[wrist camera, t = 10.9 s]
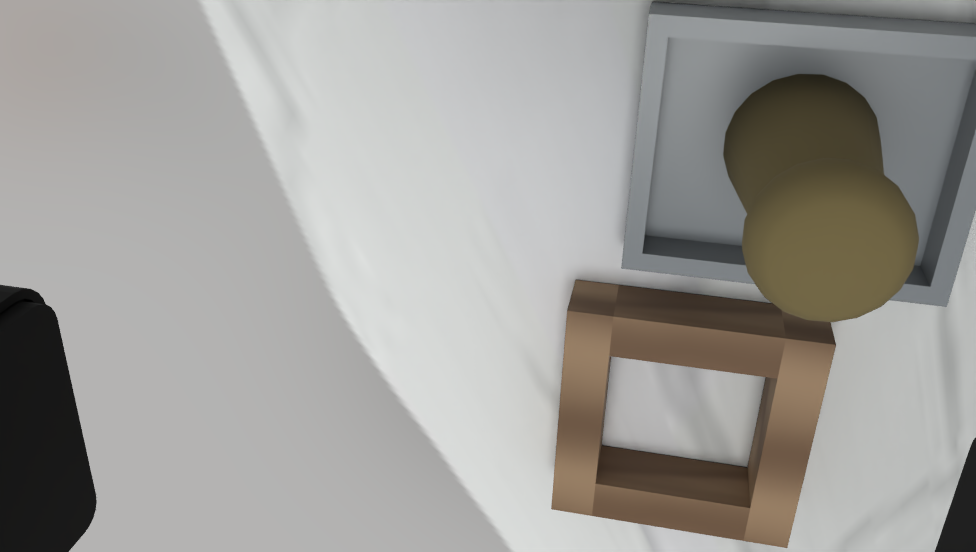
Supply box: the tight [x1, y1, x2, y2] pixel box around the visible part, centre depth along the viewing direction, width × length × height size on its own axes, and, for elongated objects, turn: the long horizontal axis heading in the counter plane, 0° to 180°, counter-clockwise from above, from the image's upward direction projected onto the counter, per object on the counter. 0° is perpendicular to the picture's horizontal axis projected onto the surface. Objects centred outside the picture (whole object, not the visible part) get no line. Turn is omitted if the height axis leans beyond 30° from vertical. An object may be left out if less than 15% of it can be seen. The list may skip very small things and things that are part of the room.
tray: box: [621, 2, 976, 307], centre depth 36 cm, size 11×13×2 cm
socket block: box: [551, 280, 836, 548], centre depth 43 cm, size 11×11×3 cm
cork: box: [723, 74, 919, 322], centre depth 32 cm, size 6×6×11 cm
